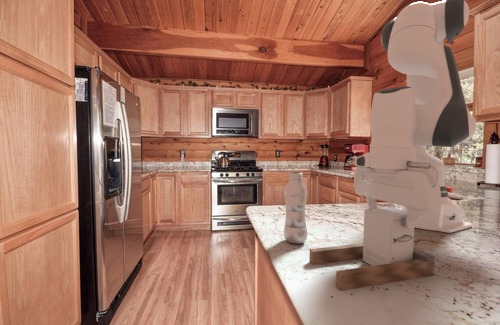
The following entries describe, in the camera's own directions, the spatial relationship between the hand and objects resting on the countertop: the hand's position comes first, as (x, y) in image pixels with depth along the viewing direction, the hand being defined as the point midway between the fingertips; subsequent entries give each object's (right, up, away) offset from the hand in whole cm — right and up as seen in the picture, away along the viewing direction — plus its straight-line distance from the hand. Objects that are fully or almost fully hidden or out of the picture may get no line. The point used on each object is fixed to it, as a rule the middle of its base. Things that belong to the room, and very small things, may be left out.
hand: (390, 221), depth 55 cm
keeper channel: (-6, -10, -1) cm, 12 cm away
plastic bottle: (-19, -10, +14) cm, 25 cm away
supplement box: (-1, -10, 0) cm, 10 cm away
